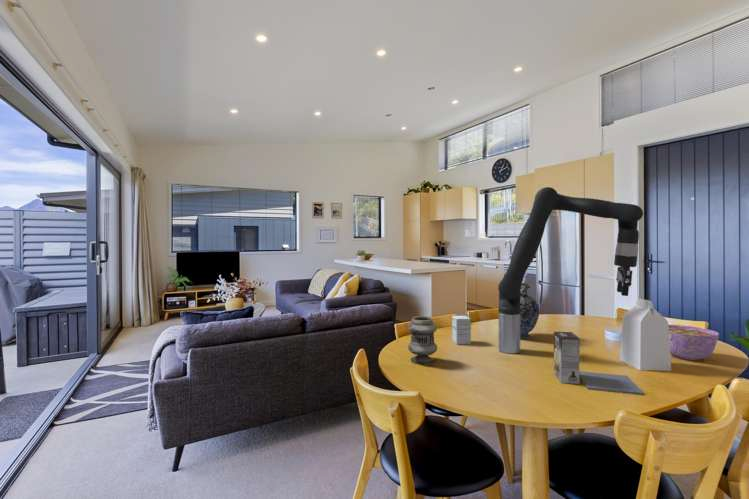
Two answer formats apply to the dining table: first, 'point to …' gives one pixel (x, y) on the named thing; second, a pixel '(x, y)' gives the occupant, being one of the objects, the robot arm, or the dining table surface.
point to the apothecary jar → (422, 339)
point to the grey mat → (609, 382)
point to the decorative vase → (527, 312)
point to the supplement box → (461, 330)
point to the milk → (645, 338)
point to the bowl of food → (691, 342)
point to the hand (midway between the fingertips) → (622, 293)
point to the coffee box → (566, 357)
